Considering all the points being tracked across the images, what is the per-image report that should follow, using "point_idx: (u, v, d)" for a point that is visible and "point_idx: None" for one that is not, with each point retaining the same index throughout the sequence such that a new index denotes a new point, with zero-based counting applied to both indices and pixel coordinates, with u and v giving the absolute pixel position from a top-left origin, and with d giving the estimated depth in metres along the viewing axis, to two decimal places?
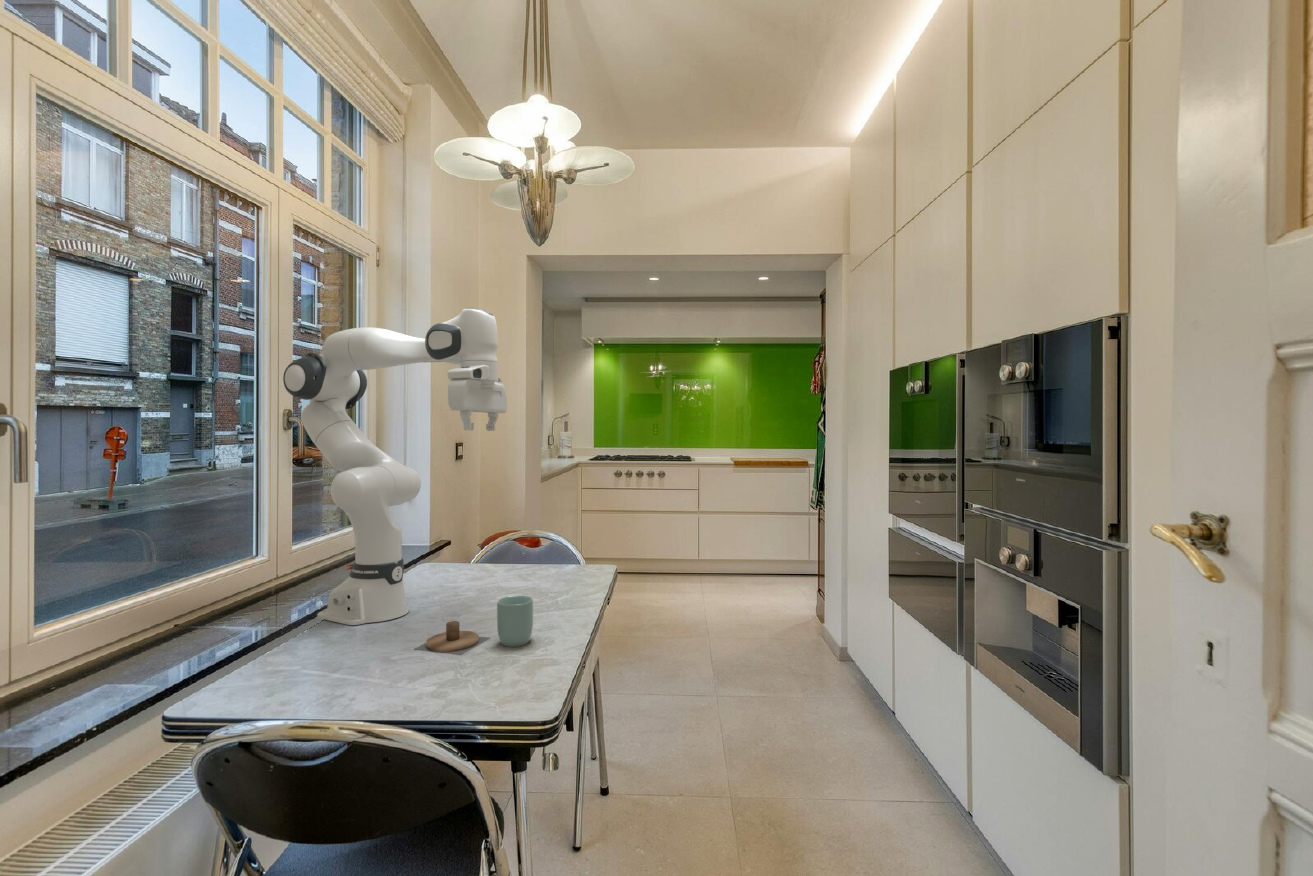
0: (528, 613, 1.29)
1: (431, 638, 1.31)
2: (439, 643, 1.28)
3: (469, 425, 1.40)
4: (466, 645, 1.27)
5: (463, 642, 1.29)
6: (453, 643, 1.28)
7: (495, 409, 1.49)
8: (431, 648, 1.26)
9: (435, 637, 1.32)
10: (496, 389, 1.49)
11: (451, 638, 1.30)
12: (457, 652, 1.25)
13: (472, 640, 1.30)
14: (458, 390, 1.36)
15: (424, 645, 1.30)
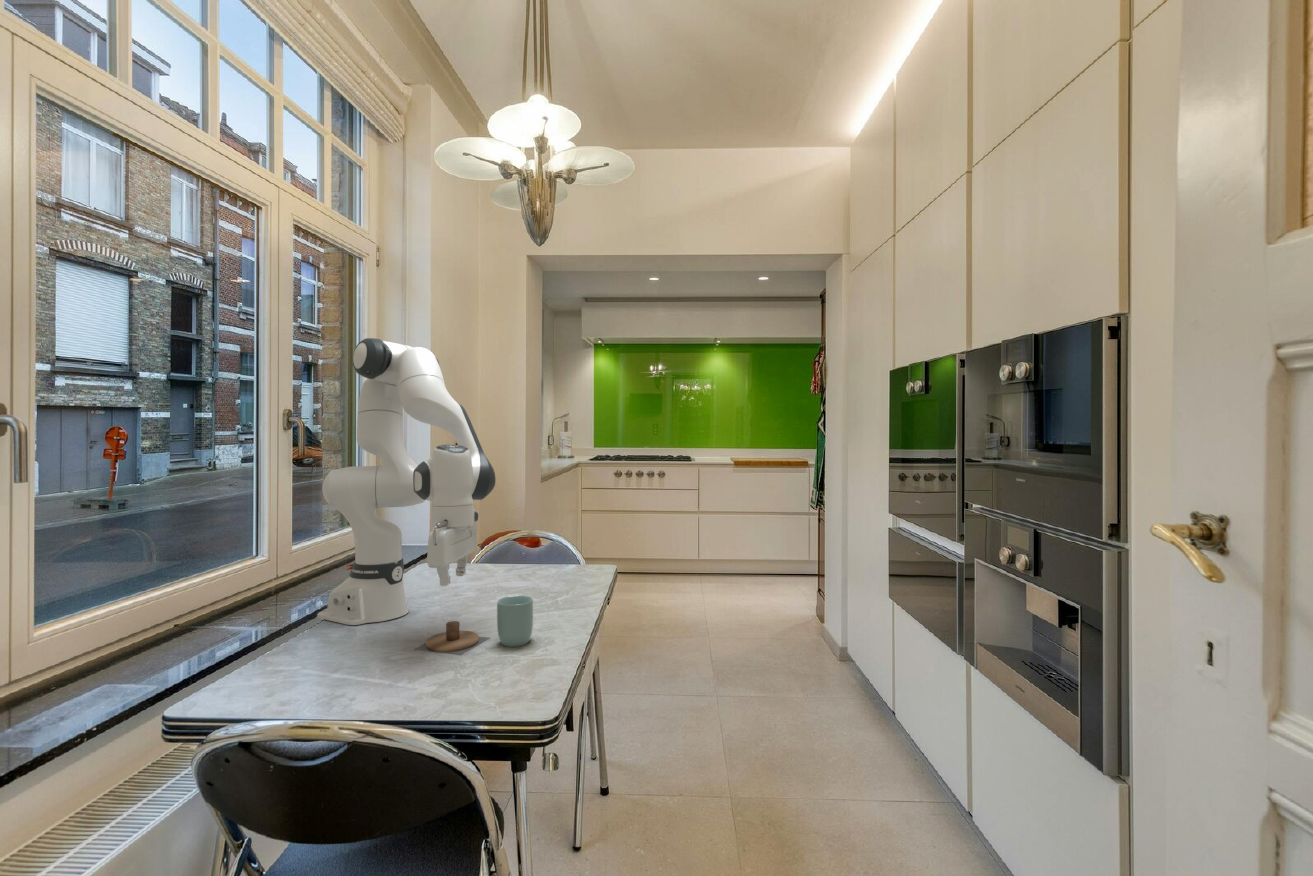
0: (527, 613, 1.29)
1: (431, 638, 1.31)
2: (439, 643, 1.28)
3: None
4: (466, 645, 1.27)
5: (463, 642, 1.29)
6: (453, 643, 1.28)
7: None
8: (431, 648, 1.26)
9: (435, 636, 1.32)
10: None
11: (451, 638, 1.30)
12: (457, 652, 1.25)
13: (472, 640, 1.30)
14: None
15: (424, 645, 1.30)
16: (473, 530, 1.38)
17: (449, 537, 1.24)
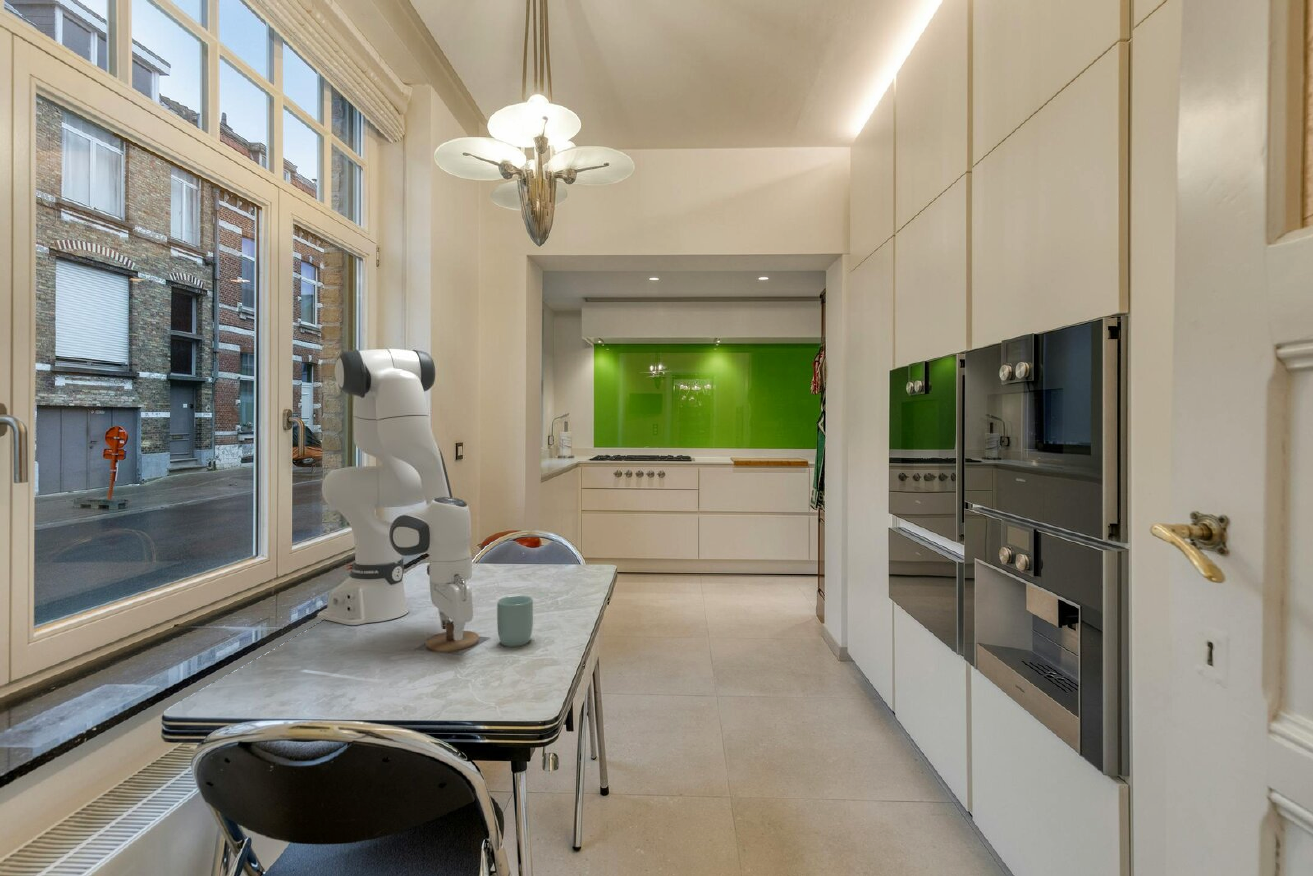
0: (528, 613, 1.29)
1: (431, 638, 1.31)
2: (439, 643, 1.28)
3: None
4: (466, 645, 1.27)
5: (463, 642, 1.29)
6: (453, 643, 1.28)
7: (448, 615, 1.26)
8: (431, 648, 1.26)
9: (435, 636, 1.32)
10: (448, 591, 1.26)
11: (451, 638, 1.30)
12: (457, 652, 1.25)
13: (472, 640, 1.30)
14: None
15: (424, 645, 1.30)
16: None
17: None
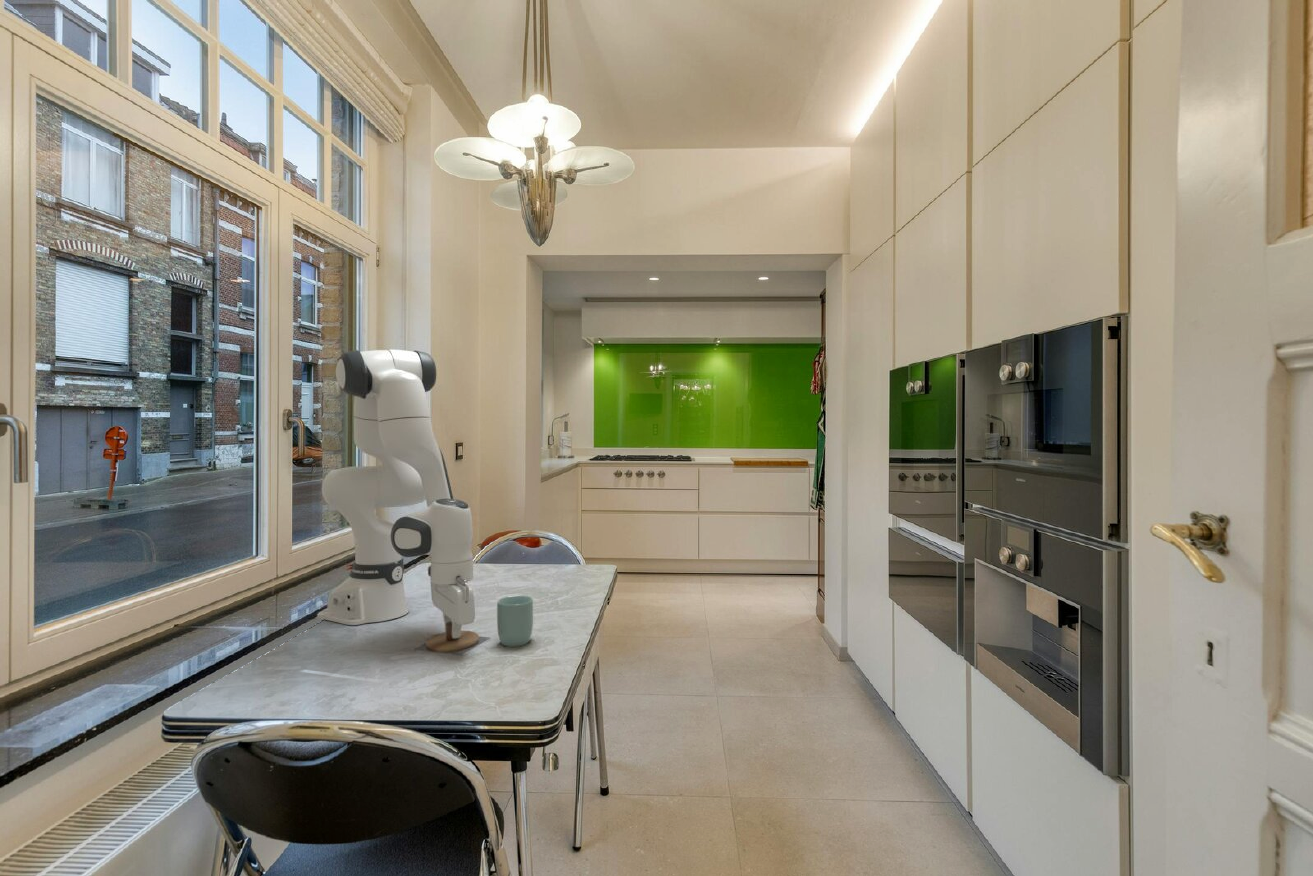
0: (527, 613, 1.29)
1: (431, 638, 1.31)
2: (439, 643, 1.28)
3: None
4: (466, 645, 1.27)
5: (462, 642, 1.29)
6: (453, 643, 1.28)
7: (449, 616, 1.26)
8: (431, 648, 1.26)
9: (435, 636, 1.32)
10: (450, 593, 1.26)
11: (451, 638, 1.30)
12: (457, 652, 1.25)
13: (472, 640, 1.30)
14: None
15: (424, 645, 1.30)
16: None
17: None
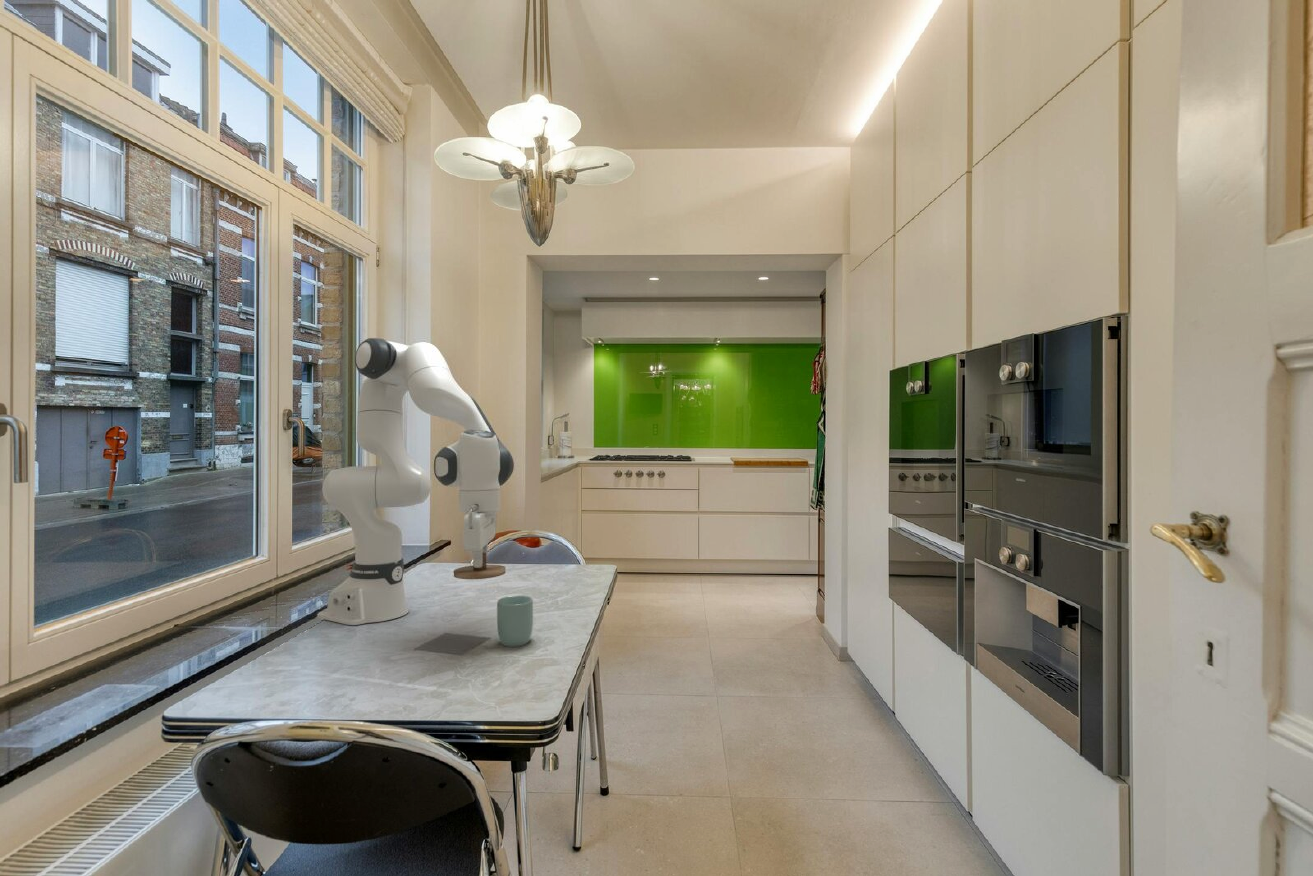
0: (528, 613, 1.29)
1: (465, 567, 1.33)
2: (463, 571, 1.29)
3: None
4: (481, 575, 1.26)
5: (482, 572, 1.27)
6: (473, 572, 1.28)
7: None
8: (454, 574, 1.28)
9: (470, 566, 1.34)
10: None
11: (475, 568, 1.30)
12: (457, 652, 1.25)
13: (491, 572, 1.27)
14: None
15: (424, 645, 1.30)
16: None
17: (482, 520, 1.24)
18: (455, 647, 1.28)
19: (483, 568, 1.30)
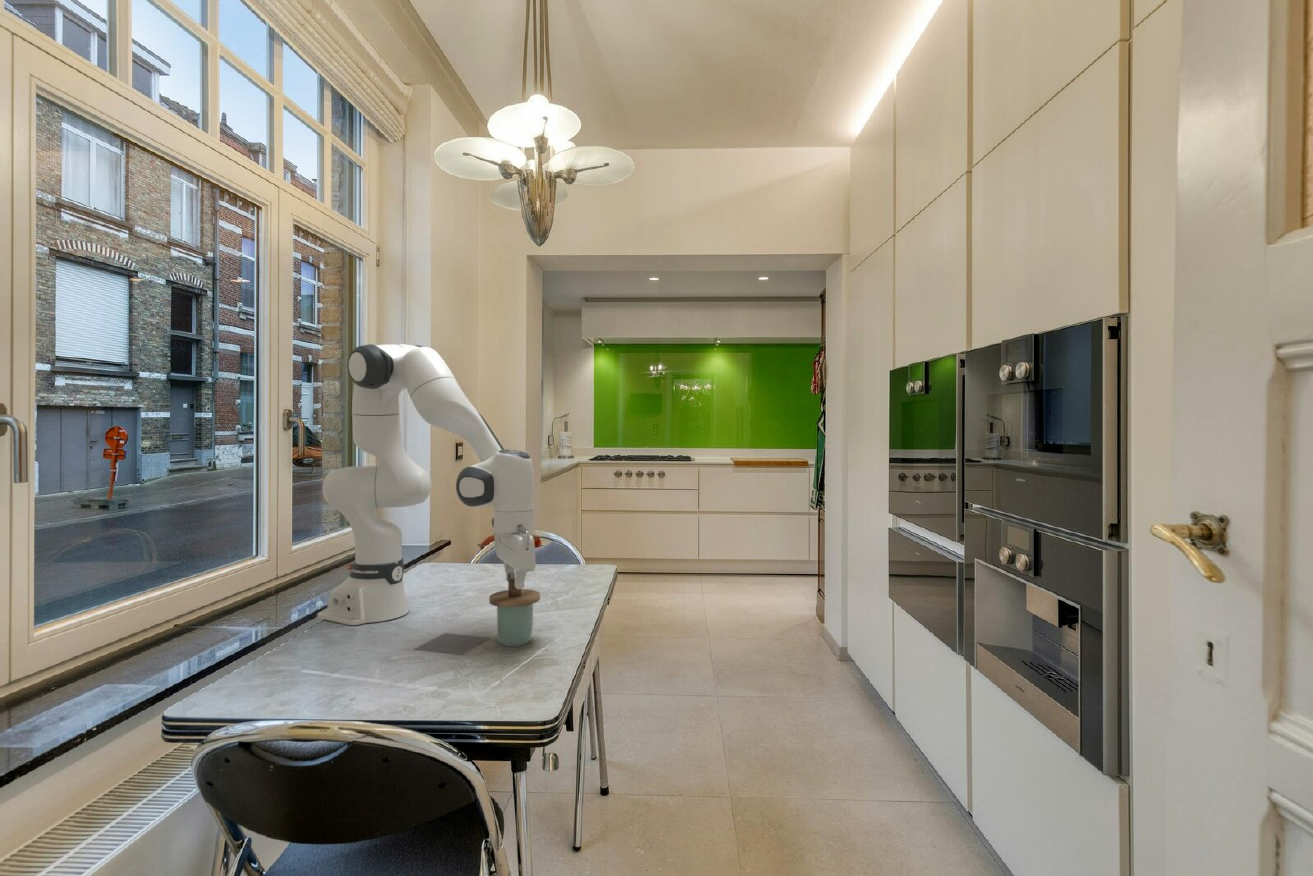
0: (528, 613, 1.29)
1: (494, 594, 1.32)
2: (502, 599, 1.29)
3: None
4: (527, 601, 1.27)
5: (524, 598, 1.29)
6: (515, 599, 1.28)
7: (511, 565, 1.27)
8: (493, 603, 1.27)
9: (498, 593, 1.33)
10: (512, 541, 1.26)
11: (513, 594, 1.30)
12: (457, 652, 1.25)
13: (533, 597, 1.30)
14: None
15: (424, 645, 1.30)
16: None
17: None
18: (455, 647, 1.28)
19: (520, 594, 1.31)
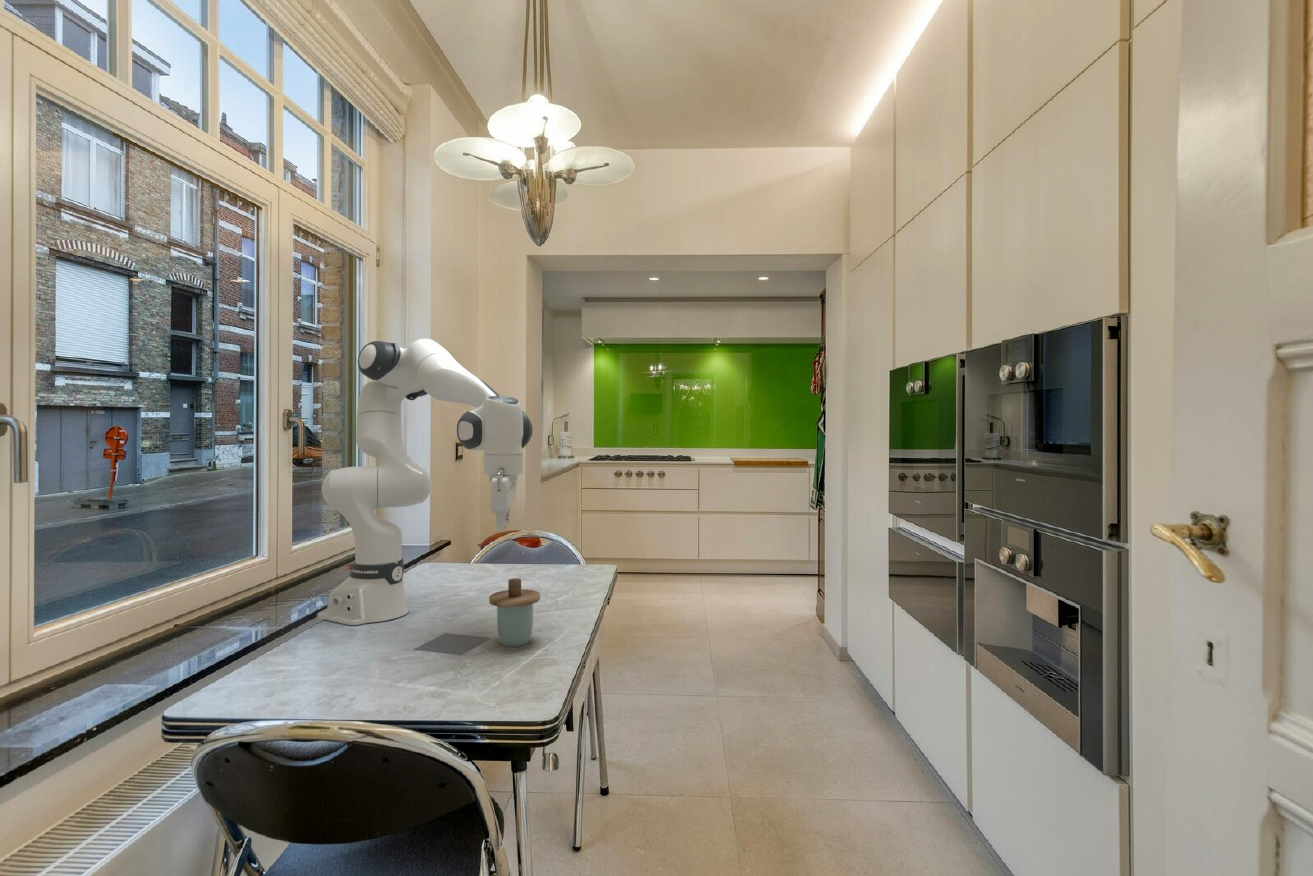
0: (528, 613, 1.29)
1: (494, 594, 1.32)
2: (502, 599, 1.29)
3: None
4: (527, 601, 1.27)
5: (524, 598, 1.29)
6: (515, 599, 1.28)
7: None
8: (493, 603, 1.27)
9: (498, 593, 1.33)
10: None
11: (513, 594, 1.30)
12: (457, 652, 1.25)
13: (533, 597, 1.30)
14: None
15: (424, 645, 1.30)
16: None
17: None
18: (455, 647, 1.28)
19: (520, 594, 1.31)
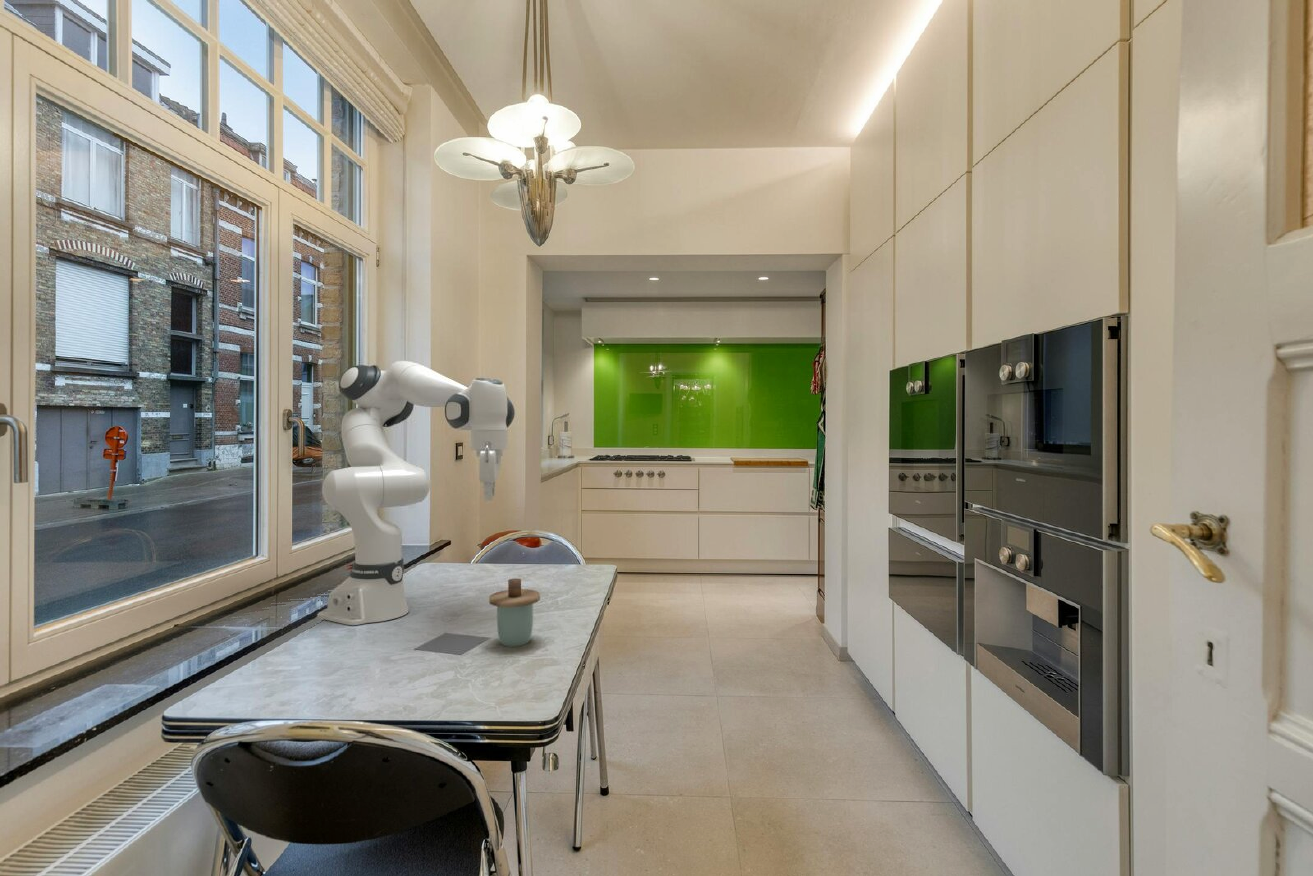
0: (527, 613, 1.29)
1: (494, 594, 1.32)
2: (502, 599, 1.29)
3: None
4: (527, 601, 1.27)
5: (524, 598, 1.29)
6: (515, 599, 1.28)
7: None
8: (493, 603, 1.27)
9: (498, 593, 1.33)
10: None
11: (513, 594, 1.30)
12: (457, 652, 1.25)
13: (533, 597, 1.30)
14: None
15: (424, 645, 1.30)
16: (498, 457, 1.55)
17: (495, 456, 1.40)
18: (455, 647, 1.28)
19: (520, 594, 1.31)
